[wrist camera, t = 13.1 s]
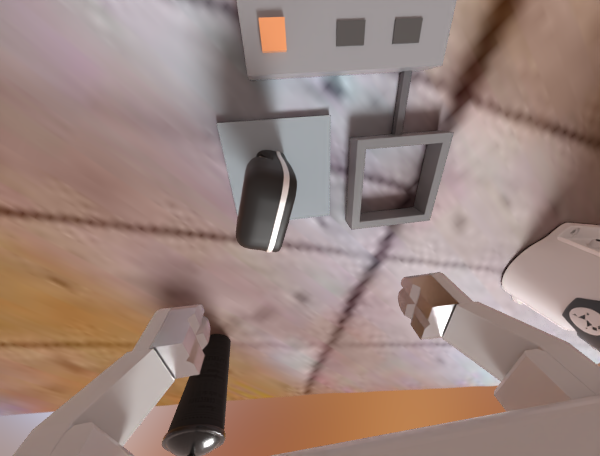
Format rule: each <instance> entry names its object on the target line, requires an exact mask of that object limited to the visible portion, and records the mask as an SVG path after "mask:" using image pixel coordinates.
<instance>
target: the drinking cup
mask: <svg viewBox="0 0 600 456" xmlns="http://www.w3.org/2000/svg"><path fill="white" fill-rule="evenodd" d="M202 351H203V353H204V355H205V356H204V360H203V363H202V367H201V370H200V374H199V375H193V376H190V377H189V379H188V382H187V384H186V387H185V390H184V392H183V395H182V397H181V400H180V402H179V405H178V407H177V410H176V413H175V415H174V418H173V420H172V423H171V425H170V428H169V430H168V433H167V434H166V435H165V436H164V438H163V441H162V446H163V448H164V449H166V450H167V451H170V452H171V453H172V454H174V455H176V456H203V455H205V454H207V453H209V452H211V451H212V450H214V449H216V448H218V447H219V446H221V445H222V444H223V443H224V441H225V437H226V434H225V431H224V425H225V424H224V423H225V411H226V397H227V383H228V370H229V356H230V339H229V338H228V337H226V336H224V335H220V334H214V335H210V338H209V342H208V344H207V345H206V346H205V348H204V349H203V350H202Z"/></svg>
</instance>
